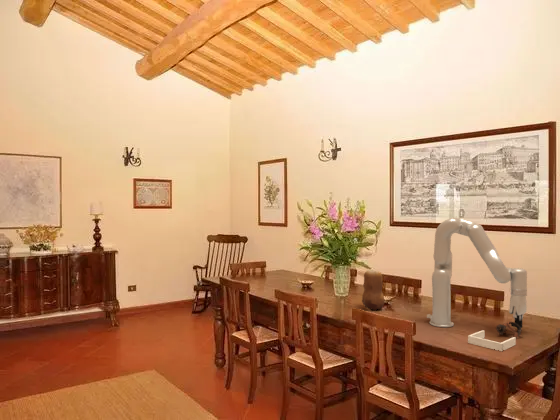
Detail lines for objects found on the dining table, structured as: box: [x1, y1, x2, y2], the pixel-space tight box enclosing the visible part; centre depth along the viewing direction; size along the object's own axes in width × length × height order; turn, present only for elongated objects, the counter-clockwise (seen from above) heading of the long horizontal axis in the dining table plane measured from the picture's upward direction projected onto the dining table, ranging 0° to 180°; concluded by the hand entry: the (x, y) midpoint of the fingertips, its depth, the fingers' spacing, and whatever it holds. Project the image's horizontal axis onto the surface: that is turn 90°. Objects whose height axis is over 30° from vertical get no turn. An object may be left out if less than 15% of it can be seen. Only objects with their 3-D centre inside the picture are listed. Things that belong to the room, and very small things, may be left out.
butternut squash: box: [361, 269, 385, 311], centre depth 284 cm, size 14×13×25 cm
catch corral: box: [467, 329, 517, 352], centre depth 214 cm, size 16×14×4 cm
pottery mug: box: [495, 320, 522, 339], centre depth 226 cm, size 12×10×8 cm
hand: (518, 327), depth 232 cm, fingers closed
